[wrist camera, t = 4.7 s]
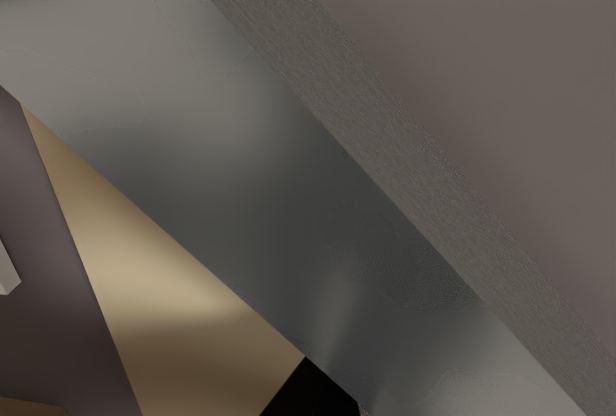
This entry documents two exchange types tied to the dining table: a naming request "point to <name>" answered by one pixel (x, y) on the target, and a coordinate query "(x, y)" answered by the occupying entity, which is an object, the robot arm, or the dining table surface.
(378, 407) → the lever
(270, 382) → the plane block
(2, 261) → the trivet
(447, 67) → the dining table surface
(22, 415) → the cap block
